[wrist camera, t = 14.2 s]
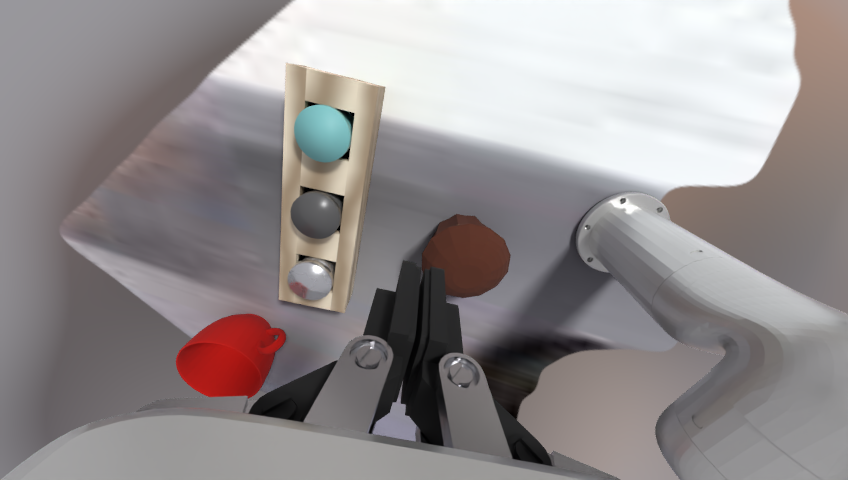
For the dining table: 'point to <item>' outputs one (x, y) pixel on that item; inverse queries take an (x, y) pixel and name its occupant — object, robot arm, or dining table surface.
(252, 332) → the ceramic cup
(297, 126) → the teal knob
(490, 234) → the muffin
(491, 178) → the dining table surface
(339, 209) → the dark gray knob
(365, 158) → the box
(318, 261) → the steel knob
